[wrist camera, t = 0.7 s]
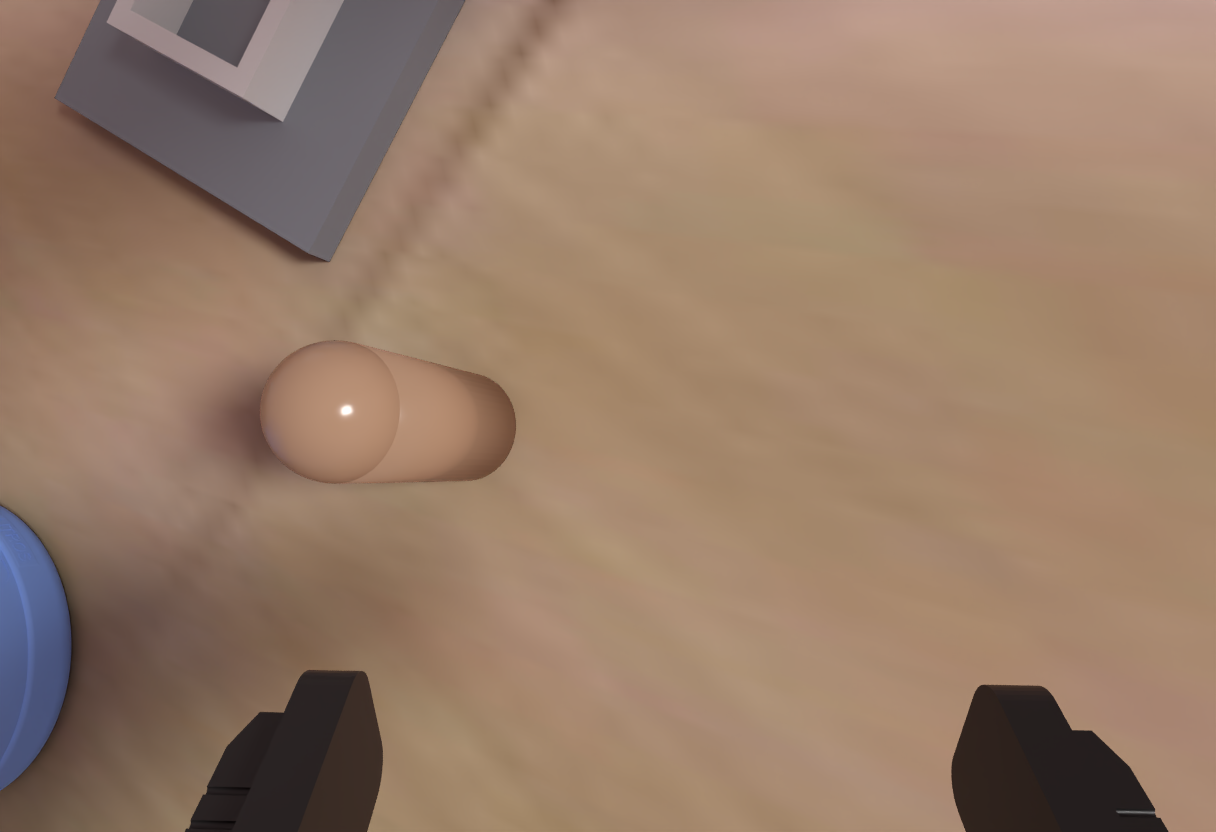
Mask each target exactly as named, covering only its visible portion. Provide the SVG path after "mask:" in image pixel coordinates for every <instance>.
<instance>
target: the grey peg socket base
mask: <svg viewBox="0 0 1216 832" xmlns="http://www.w3.org/2000/svg"><path fill="white" fill-rule="evenodd" d="M464 1H465V0H101V1H100V3H99V5H98V7H97V9H96V11H95V13H94V15H93V17H92V20H91V22H90V24H89V26H88V28H87V30H86V32H85V34H84V37H83V39H82V41H81V43H80V45H79V47H78V49H77V51H76V53H75V56H74V58H73V60H72V62H71V64H70V66H69V68H68V70H67V72H66V75H65V77H64V79H63V81H62V83H61V85H60V87H59V89H58V91H57V94H56V96H55V99H57V100H59V101H60V102H62V103H64V104H65V105H67V106H68V107H70V108H72V109H73V110H75V111H77V112H78V113H80V114H81V115H83V116H85V117H86V118H88V119H90V120H91V121H93V122H95V123H96V124H98V125H99V126H101V127H103V128H104V129H106V130H108V131H109V132H111V133H113V134H114V135H116V136H117V137H119V138H121V139H122V140H124V141H126V142H127V143H129V144H130V145H132V146H134V147H135V148H137V149H139V150H140V151H142V152H144V153H145V154H147V155H148V156H150V157H152V158H153V159H155V160H157V161H158V162H160V163H161V164H163V165H165V166H166V167H168V168H170V169H171V170H173V171H175V172H176V173H178V174H179V175H181V176H183V177H184V178H186V179H188V180H189V181H191V182H193V183H194V184H196V185H197V186H199V187H201V188H202V189H204V190H206V191H207V192H209V193H210V194H212V195H214V196H215V197H217V198H219V199H220V200H222V201H224V202H225V203H227V204H228V205H230V206H232V207H233V208H235V209H237V210H238V211H240V212H241V213H243V214H245V215H246V216H248V217H250V218H251V219H253V220H255V221H256V222H258V223H259V224H261V225H263V226H264V227H266V228H268V229H269V230H271V231H273V232H274V233H276V234H277V235H279V236H281V237H282V238H284V239H286V240H287V241H289V242H290V243H292V244H294V245H295V246H297V247H299V248H300V249H302V250H304V251H305V252H307V253H308V254H311V255H314V256H316V257H319V258H321V259H324V260H326V261H329V262H330V260H331V258H332V256H333V254H334V252H335V250H336V248H337V246H338V244H339V243H340V241H341V239H342V237H343V235H344V233H345V231H346V229H347V227H348V225H349V223H350V221H351V219H352V217H353V215H354V214H355V212H356V210H357V208H358V206H359V204H360V202H361V200H362V198H363V196H364V194H365V192H366V190H367V188H368V187H369V185H370V183H371V181H372V179H373V177H374V175H375V173H376V171H377V169H378V167H379V165H380V163H381V161H382V160H383V158H384V156H385V154H386V152H387V150H388V148H389V146H390V144H391V142H392V140H393V138H394V136H395V134H396V133H397V131H398V129H399V127H400V125H401V123H402V121H403V119H404V117H405V115H406V113H407V111H408V109H409V107H410V106H411V104H412V102H413V100H414V98H415V96H416V94H417V92H418V90H419V88H420V86H421V84H422V82H423V80H424V79H425V77H426V75H427V73H428V71H429V69H430V67H431V65H432V63H433V61H434V59H435V57H436V55H437V53H438V52H439V50H440V48H441V46H442V44H443V42H444V40H445V38H446V36H447V34H448V32H449V30H450V28H451V26H452V25H453V23H454V21H455V19H456V17H457V15H458V13H459V11H460V9H461V7H462V5H463V3H464Z"/></svg>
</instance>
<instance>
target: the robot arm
mask: <svg viewBox="0 0 1216 832" xmlns="http://www.w3.org/2000/svg"><path fill="white" fill-rule="evenodd" d="M382 765H383V749H382V741H381V737H380V732H379V727H378V723H377V718H376V713H375V709H374V704H373V699H372V694H371V690H370V685H369V681H368V677H367V675H366V673H365V672H363V671H325V670H308V671H306V672H304V673H303V674H302V675H301V677H300V678H299V680H298V682H297V684H296V686H295V689H294V691H293V693H292V696H291V698H290V700H289V702H288V705H287V707H286V709H285V711H284V713H275V712H260V713H259V714H258V715H257V716H256V717H255V718H254V719H253V720H252V721H251V722H250V723H249V724H248V725H247V726H246V727H245V728H244V729H243V730H242V731H241V732H240V733H239V734H238V735H237V736H236V738H235V739H234V740H233V741H232V742H231V743H230V744H229V745H228V746H227V747H226V749H225V751H224V753H223V755H222V757H221V759H220V761H219V764H218V766H217V768H216V770H215V772H214V774H213V776H212V778H211V780H210V782H209V784H208V786H207V793H206V795H203V796H202V798H201V800H200V802H199V804H198V806H197V808H196V810H195V812H194V814H193V816H192V818H191V825H190V828H189V829H186V831H185V832H367V830H368V827H369V823H370V820H371V816H372V813H373V810H374V806H375V803H376V799H377V796H378V792H379V787H380V782H381V775H382ZM951 773H952V787H953V794H954V799H955V802H956V806H957V809H958V812H959V815H960V817H961V820H962V823H963V825H964V828H965V831H966V832H1168V830H1167V828H1166V827H1165V825H1164V823H1163V822H1162V820H1161V818H1157V817H1156V815H1155V808H1154V807H1153V805H1152V803H1151V802H1150V800H1149V798H1148V797H1147V795H1146V793H1145V792H1144V790H1143V788H1142V787H1141V785H1140V783H1139V782H1138V780H1137V778H1136V777H1135V775H1134V773H1133V772H1132V770H1131V768H1130V767H1129V766H1128V765H1127V764H1126V763H1125V762H1124V761H1123V760H1122V759H1121V758H1120V757H1119V756H1118V755H1117V754H1116V753H1114V752H1113V751H1112V750H1111V749H1110V748H1109V747H1108V746H1107V745H1106V744H1105V743H1104V742H1103V741H1102V740H1101V739H1100V738H1099V737H1098V736H1097V735H1096V734H1095V733H1093V732H1092V731H1081V730H1072V729H1071V728H1070V726H1069V724H1068V722H1067V720H1066V719H1065V717H1064V715H1063V713H1062V711H1061V710H1060V708H1059V706H1058V704H1057V702H1056V701H1055V699H1054V697H1053V696H1052V695H1051V693H1050V692H1049V691H1048V690H1047V689H1045V688H1044V687H1042V686H1020V685H981V686H979V687H978V688H977V690H976V691H975V694H974V696H973V699H972V702H971V705H970V708H969V711H968V714H967V717H966V720H965V723H964V726H963V729H962V732H961V735H960V738H959V741H958V744H957V747H956V750H955V753H954V756H953V760H952V771H951Z"/></svg>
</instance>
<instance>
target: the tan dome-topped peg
mask: <svg viewBox="0 0 1216 832" xmlns="http://www.w3.org/2000/svg"><path fill="white" fill-rule="evenodd" d="M260 422H261V427H262V431H263V434H264V437H265V439H266V441H267V443H268V445H269V447H270V449H271V450H272V452H273V453H274V455H275V456H276V457H277V458H278V459H279V460H280V461H281V462H282V463H283V464H284V465H285V466H286V467H288V468H289V469H290V470H292V471H294V472H295V473H297V474H299V475H300V476H303V477H305V478H307V479H310V480H314V481H318V482H323V483H333V484H341V483H391V482H441V481H472V480H477V479H480V478H483V477H485V476H487V475H489V474H491V473H492V472H494V471H495V470H496V469H497V468H498V467H499V466H500V465H501V464H502V463H503V462H504V461H505V459H506V458H507V456H508V454H509V452H510V450H511V448H512V445H513V442H514V438H515V432H516V419H515V413H514V409H513V406H512V404H511V401H510V399H509V397H508V396H507V394H506V393H505V392H504V390H503V389H502V388H501V387H500V386H499V385H498V384H497V383H495V382H494V381H493V380H491V379H489V378H487V377H485V376H482V375H478V374H475V373H471V372H467V371H463V370H459V369H455V368H451V367H447V366H443V365H439V364H435V363H432V362H428V361H424V360H420V359H416V358H412V357H408V356H404V355H400V354H396V353H392V352H389V351H385V350H381V349H377V348H373V347H369V346H365V345H361V344H357V343H353V342H347V341H336V340H333V341H322V342H317V343H314V344H310V345H307V346H305V347H302V348H300V349H298V350H297V351H295V352H293V353H292V354H290V355H289V356H287V357H286V358H285V359H284V360H283V361H282V362H281V363H280V364H279V365H278V366H277V367H276V368H275V369H274V371H273V372H272V373H271V375H270V377H269V378H268V380H267V382H266V385H265V387H264V390H263V393H262V397H261V402H260Z"/></svg>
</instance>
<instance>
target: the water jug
mask: <svg viewBox="0 0 1216 832" xmlns="http://www.w3.org/2000/svg"><path fill="white" fill-rule="evenodd" d="M71 645H72V644H71V625H70V616H69V610H68V605H67V600H66V596H65V592H64V589H63V586H62V582H61V580H60V577H59V574H58V572H57V570H56V567H55V565H54V563H53V561H52V559H51V557H50V555H49V554H48V552H47V550H46V549H45V547H44V546H43V544H42V543H41V541H40V540H39V538H38V537H37V536H36V535H35V533H34V532H33V531H32V530H31V529H30V528H29V527H28V526H27V525H26V524H25V523H24V522H23V521H22V520H21V519H19V518H18V517H17V516H16V515H14V514H13V513H12V512H10V511H9V510H7V509H5V508H4V507H2V506H0V791H1V790H2V789H4V788H5V787H6V786H8V785H9V784H10V783H12V782H13V781H14V780H15V779H16V778H17V777H18V776H20V775H21V774H22V773H23V772H24V771H25V770H26V768H27V767H28V766H29V765H30V764H31V763H32V762H33V760H34V759H35V758H36V756H37V755H38V754H39V752H40V751H41V749H42V748H43V746H44V745H45V743H46V741H47V739H48V738H49V736H50V734H51V732H52V730H53V728H54V726H55V723H56V721H57V719H58V716H59V713H60V711H61V708H62V705H63V701H64V698H65V694H66V690H67V685H68V680H69V673H70V665H71Z"/></svg>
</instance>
